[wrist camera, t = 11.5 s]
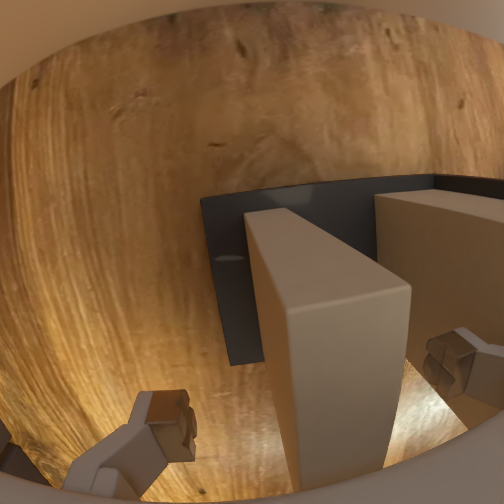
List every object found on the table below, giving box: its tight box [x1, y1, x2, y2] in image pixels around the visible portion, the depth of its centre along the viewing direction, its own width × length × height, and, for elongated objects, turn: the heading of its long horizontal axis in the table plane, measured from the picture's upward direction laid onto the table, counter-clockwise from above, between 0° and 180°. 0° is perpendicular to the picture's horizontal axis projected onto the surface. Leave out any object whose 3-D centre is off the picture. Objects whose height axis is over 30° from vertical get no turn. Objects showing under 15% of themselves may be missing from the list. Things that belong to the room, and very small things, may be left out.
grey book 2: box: [0, 443, 52, 487], centre depth 17 cm, size 9×2×13 cm, turn 8°
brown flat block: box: [244, 208, 412, 492], centre depth 12 cm, size 9×2×13 cm, turn 8°
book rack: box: [200, 174, 504, 430], centre depth 13 cm, size 11×16×14 cm
